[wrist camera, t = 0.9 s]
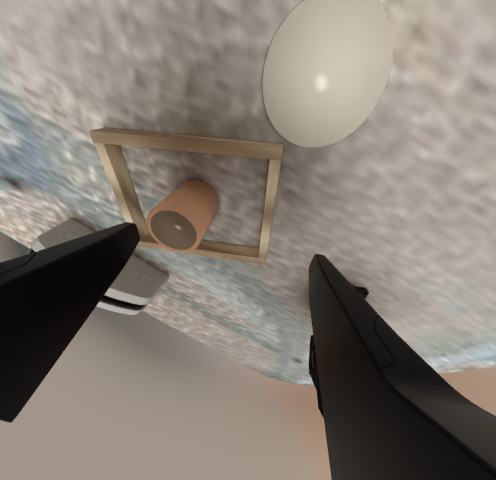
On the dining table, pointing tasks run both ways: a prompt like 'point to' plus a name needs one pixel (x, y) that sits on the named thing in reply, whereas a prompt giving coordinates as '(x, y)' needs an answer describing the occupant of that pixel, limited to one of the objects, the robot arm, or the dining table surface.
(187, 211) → the terracotta pot
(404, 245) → the dining table surface
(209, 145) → the wooden frame
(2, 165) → the dining table surface
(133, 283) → the light grey slab casing
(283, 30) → the cream saucer
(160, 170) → the dining table surface
